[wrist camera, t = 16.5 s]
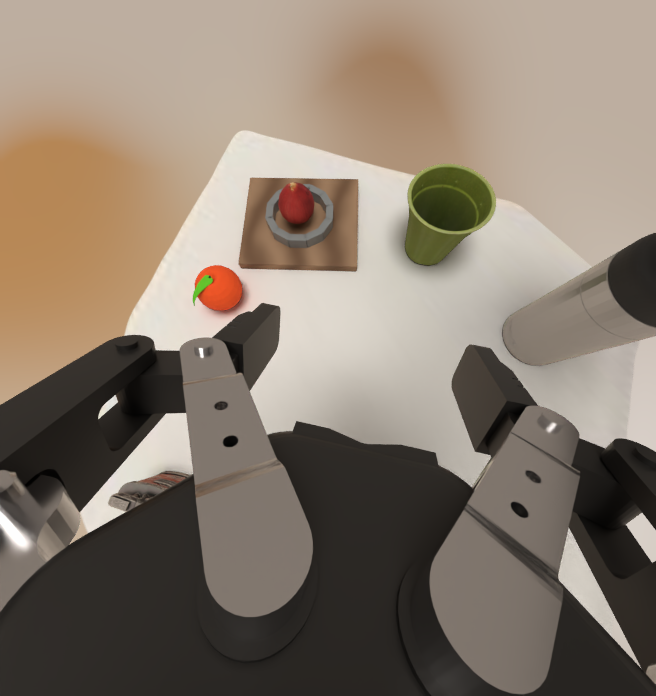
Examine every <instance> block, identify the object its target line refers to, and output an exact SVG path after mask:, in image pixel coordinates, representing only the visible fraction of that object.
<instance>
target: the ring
mask: <svg viewBox="0 0 656 696" xmlns="http://www.w3.org/2000/svg"><path fill="white" fill-rule="evenodd" d="M303 185H305V186H306V187H307V188H308V189H309V190H310V191H311V193H312V196H313V199H314V202H316V203H318V204H320V205H321V206H322V208H323V210H324V211H325V213H326V218H325V219H324V221H323V222H322V224H321V225H320V226H319V228H318V229H315V230H313V231H311V232H309V233H307V234H290V233H288V232H286V231H284V230H282V229H280V228H278V226H277V224H276V222H275V220H276V213H277V212H278V211H279V206H278V202H279V195H280V193H281V191H282V189H283V188H282V189H280V190H278V191H277V192H276V193H275V194H274V195H273V196H272V198H271V199H270V200H269V201H268V203H267V207H266V216H265V219H266V222H267V225H268V227H269V229H270V231H271V233H272V235H273V236H274V238H275V239H276V240H277V241H279V242H280V243H282V244H284V245H286V246H288V247H290V248H307V247H308V248H309V247H311V246H313V245H315V244H317V243H320V242H322V241H323V240H324V239H325V238H326V236H327V235H328V234H329V232H330V231H331V230H332V228H333V203H332V201H331V200H330V198H329V197H328V195H327V194H326V192H325V191H323V190H321V189H319V188H317V187H315V186H313V185H310V184H303Z"/></svg>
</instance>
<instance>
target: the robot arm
mask: <svg viewBox="0 0 656 696" xmlns="http://www.w3.org/2000/svg"><path fill="white" fill-rule="evenodd" d="M279 330H280V307H279V306H275V305H270V304H265V303H261V304H260V305H259V306H258V307H257V308H256V309H255V310H254V311H253V312H249V311H248V312H245V313H243V314H240V315H238V316H237V317H236V318H234V319H233V320H232V322H230V323H229V324H228V325H227V326H225V327H224V328H223V329H222V330H221V331H219V332H218V333H217V334H216V335H215V336H214V337H212V338H197V339H193V340H190V341H188V342H186V343H184V344H183V345H182V346H181V348H180V351H159V350H155V346H154V342H153V340H152V339H151V338H149V337H146V336H141V335H128V336H122V337H117V338H114V339H112V340H109V341H107V342H105V343H104V344H102V345H100V346H99V347H97V348H95V349H94V350H92V351H90V352H89V353H87V354H85V355H84V356H82V357H80V358H79V359H77V360H75V361H74V362H72V363H70V364H69V365H67V366H65V367H63V368H62V369H60V370H58V371H57V372H55V373H53V374H52V375H50V376H48V377H47V378H45V379H43V380H42V381H40V382H39V383H37V384H35V385H33V386H32V387H30V388H28V389H27V390H25V391H23V392H22V393H20V394H18V395H16V396H15V397H13V398H12V399H10V400H8V401H6V402H5V403H3V404H1V405H0V696H656V561H655V562H653V563H652V562H651V561H650V559H649V558H648V556H647V555H646V554H645V552H644V551H643V549H642V548H641V546H640V545H639V543H638V542H637V541H636V539H635V538H634V536H633V535H632V533H631V532H630V530H629V529H628V528H627V526H626V524H627V523H628V522H629V521H631V520H632V519H634V518H635V517H636V516H638V515H639V514H640V513H643V514H644V515H645V516H646V518H647V519H648V520H649V522H650V523H651V524H652V526H653V527H654V528H655V530H656V452H655V451H653V450H651V449H649V448H648V447H646V446H643V445H641V444H639V443H637V442H634V441H631V440H627V439H620V438H619V439H615V440H614V441H613V442H612V443H611V444H610V445H609V446H608V447H607V448H606V449H605V448H603V447H600V446H598V445H595V444H593V443H590V442H587V441H585V440H582V439H580V438H579V432H578V430H577V429H576V428H575V426H574V425H573V424H572V423H571V422H569V421H568V420H567V419H566V418H564V417H563V416H561V415H559V414H558V413H556V412H554V411H552V410H549V409H547V408H544V407H540V406H538V405H537V404H536V402H535V401H534V400H533V398H532V397H531V396H530V394H529V393H528V392H527V390H526V389H525V388H523V385H522V384H521V382H520V381H518V378H517V377H516V375H515V374H514V373H513V371H512V370H510V369H509V368H508V367H507V366H505V365H504V364H503V363H501V362H500V361H499V359H498V358H497V356H496V355H495V354H494V352H493V351H492V350H491V349H490V348H486V347H481V346H476V345H469V346H468V347H467V348H466V350H465V352H464V354H463V356H462V358H461V360H460V362H459V364H458V367H457V369H456V371H455V373H454V375H453V378H452V391H453V393H454V396H455V399H456V401H457V404H458V407H459V410H460V412H461V415H462V418H463V420H464V423H465V426H466V429H467V431H468V434H469V437H470V439H471V442H472V445H473V448H474V450H475V452H479V453H484V454H488V455H491V459H490V460H489V462H488V463H487V465H486V466H485V468H484V469H483V471H482V472H481V474H480V476H479V477H478V479H477V480H476V482H475V483H474V485H473V486H472V487H470V486H469V485H468V484H467V483H466V482H465V481H463V480H462V479H461V478H459V477H458V476H456V475H455V474H453V473H452V472H450V471H449V470H447V469H445V468H443V467H441V466H439V465H438V462H437V457H436V453H434V452H430V451H426V450H421V449H417V448H412V447H408V446H404V445H381V444H363V443H360V442H358V441H356V440H354V439H351V438H349V437H347V436H345V435H343V434H340V433H338V432H336V431H334V430H331V429H329V428H324V427H320V426H316V425H311V424H307V423H302V422H298V421H296V424H295V426H294V429H293V431H286V432H277V433H272V434H269V435H267V434H266V431H265V429H264V426H263V424H262V421H261V419H260V416H259V414H258V411H257V409H256V406H255V404H254V401H253V399H252V396H251V394H250V390H251V388H252V387H253V385H254V384H255V382H256V381H257V379H258V378H259V376H260V375H261V373H262V372H263V370H264V369H265V367H266V366H267V364H268V362H269V361H270V359H271V358H272V356H273V355H274V353H275V352H276V350H277V347H278V342H279ZM653 336H656V233H653V234H650V235H648V236H645V237H644V238H641V239H639V240H638V241H636V242H635V243H633V244H631V245H629V246H628V247H626V248H624V249H622V250H621V251H619V252H617V253H616V254H614V255H613V256H611V257H609V258H607V259H606V260H604V261H602V262H601V263H599V264H598V265H595V266H594V267H592V268H590V269H589V270H587V271H585V272H584V273H582V274H580V275H579V276H577V277H575V278H573V279H572V280H570V281H568V282H567V283H565V284H563V285H561V286H560V287H558V288H556V289H555V290H553V291H551V292H550V293H548V294H546V295H544V296H543V297H541V298H539V299H538V300H536V301H534V302H533V303H531V304H529V305H527V306H526V307H524V308H522V309H520V310H519V311H517V312H515V313H514V314H512V315H511V316H510V317H509V318H508V319H507V320H506V322H505V324H504V327H503V339H504V342H505V345H506V347H507V348H508V350H509V351H510V353H511V354H512V355H514V356H515V357H516V358H517V359H519V360H520V361H522V362H524V363H527V364H530V365H540V366H541V365H546V364H550V363H554V362H558V361H561V360H566V359H570V358H573V357H577V356H581V355H585V354H589V353H593V352H596V351H600V350H604V349H608V348H612V347H616V346H619V345H623V344H627V343H631V342H635V341H639V340H642V339H646V338H649V337H653ZM114 395H116V397H117V400H118V403H117V404H116V405H114V406H113V407H112V408H111V409H110V410H109V411H108V412H106V413H105V414H104V415H103V416H102V417H101V418H100V419H98V415H99V412H100V410H101V408H102V406H103V405H104V404H105V403H106V402H107V401H108V400H110V399H111V398H112V397H113V396H114ZM166 413H186V414H187V423H188V431H189V439H190V448H191V456H192V464H193V473H194V474H193V475H191V476H189V477H187V478H185V479H184V480H182V481H180V482H178V483H177V484H175V485H173V486H171V487H170V488H168V489H166V490H164V491H162V492H161V493H159V494H157V495H155V496H154V497H152V498H150V499H148V500H147V501H145V502H143V503H141V504H139V505H138V506H136V507H134V508H132V509H131V510H129V511H127V512H125V513H124V514H122V515H120V516H118V517H116V518H115V519H113V520H111V521H109V522H108V523H106V524H104V525H102V526H100V527H99V528H97V529H95V530H93V531H92V532H90V533H88V534H86V535H85V536H83V537H81V538H80V539H78V540H76V541H75V542H73V543H71V544H70V542H71V540H72V539H73V538H74V536H75V534H76V532H77V530H78V528H79V525H80V513H79V512H80V511H81V510H82V509H83V508H84V507H85V506H86V504H87V503H88V502H89V501H90V500H91V499H92V498H93V496H94V495H95V494H96V493H97V492H98V491H99V490H100V488H101V487H102V486H103V485H104V484H105V483H106V482H107V480H108V479H109V478H110V477H111V476H112V475H113V474H114V472H115V471H116V470H117V469H118V468H119V467H120V466H121V464H122V463H123V462H124V461H125V460H126V459H127V457H128V456H129V455H130V454H131V453H132V452H133V451H134V449H135V448H136V447H137V446H138V445H139V444H140V443H141V441H142V440H143V439H144V438H145V437H146V436H147V435H148V433H149V432H150V431H151V430H152V429H153V428H154V427H155V425H156V424H157V423H158V422H159V421H160V420H161V419H162V417H163V416H164V415H165V414H166ZM568 528H570V530H571V532H572V534H573V536H574V538H575V540H576V542H577V544H578V546H579V548H580V550H581V551H582V553H583V555H584V557H585V559H586V561H587V563H588V565H589V567H590V569H591V571H592V573H593V575H594V577H595V579H596V581H597V583H598V585H599V586H600V588H601V590H602V592H603V594H604V596H605V598H606V600H607V602H608V604H609V606H610V608H611V610H612V612H613V614H614V616H615V618H616V620H617V622H618V623H619V625H620V627H621V629H622V631H623V633H624V635H625V637H626V639H627V641H628V643H629V645H630V647H631V649H632V651H633V652H634V654H635V656H636V658H637V660H638V662H639V664H640V666H641V668H642V669H641V668H640V667H639V666H638V665H637V664H636V663H635V662H634V660H633V659H632V658H631V657H630V656H629V655H628V654H627V653H626V652H625V651H624V650H623V649H622V648H621V646H620V645H618V643H617V642H616V641H615V640H614V639H613V638H612V637H611V636H610V635H609V634H608V633H607V631H606V630H605V629H604V628H603V627H602V626H601V625H600V624H599V623H598V622H597V621H596V620H595V619H594V618H593V616H592V615H591V614H590V613H589V612H588V611H587V610H586V609H585V608H584V607H583V606H582V605H581V604H580V603H579V601H578V600H577V599H576V598H575V597H574V596H573V595H572V594H571V593H570V592H569V591H568V590H567V589H566V587H565V586H564V585H563V584H562V583H561V582H560V581H559V580H558V572H559V568H560V563H561V559H562V554H563V550H564V545H565V541H566V537H567V532H568ZM69 544H70V545H69Z"/></svg>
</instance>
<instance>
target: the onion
mask: <svg viewBox="0 0 656 696" xmlns="http://www.w3.org/2000/svg"><path fill="white" fill-rule="evenodd" d="M278 206H279V210H280V212H281V214H282V216H283V217H284V218H285V219H286V220H287V221H288V222H290V223H293V224H301V223H305V222H306V221H308V220H309V219H310V217H311V216H312V214H313V212H314V199H313V196H312V193H311V191H310V190H309V189H308V188H307V187H306V186H305V185H303V184H301V183H297V182H291V183H289V184H287V185H286V186H285V187H284V188H283V189H282V191H281V193H280V195H279V202H278Z"/></svg>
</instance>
